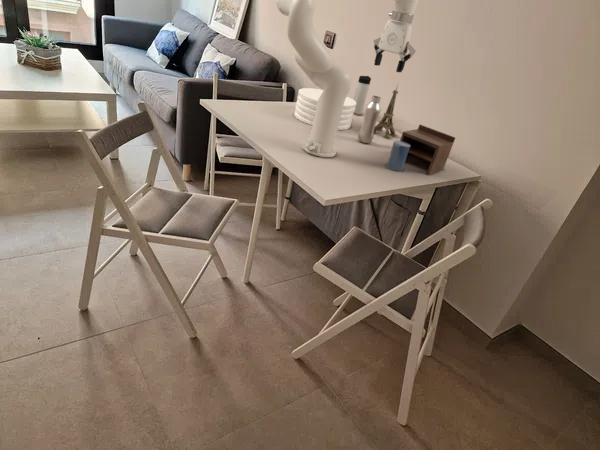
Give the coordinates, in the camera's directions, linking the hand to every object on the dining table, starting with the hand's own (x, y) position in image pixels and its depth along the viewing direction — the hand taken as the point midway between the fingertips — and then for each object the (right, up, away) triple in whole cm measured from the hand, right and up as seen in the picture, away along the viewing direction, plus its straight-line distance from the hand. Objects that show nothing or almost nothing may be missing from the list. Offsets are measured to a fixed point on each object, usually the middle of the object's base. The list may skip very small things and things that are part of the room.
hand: (387, 68), depth 157 cm
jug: (+4, -36, +6) cm, 37 cm away
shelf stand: (+16, -34, +16) cm, 40 cm away
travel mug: (-2, +2, +74) cm, 74 cm away
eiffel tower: (+8, -14, +47) cm, 50 cm away
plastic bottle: (-4, -22, +29) cm, 36 cm away
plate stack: (-22, -8, +48) cm, 53 cm away
